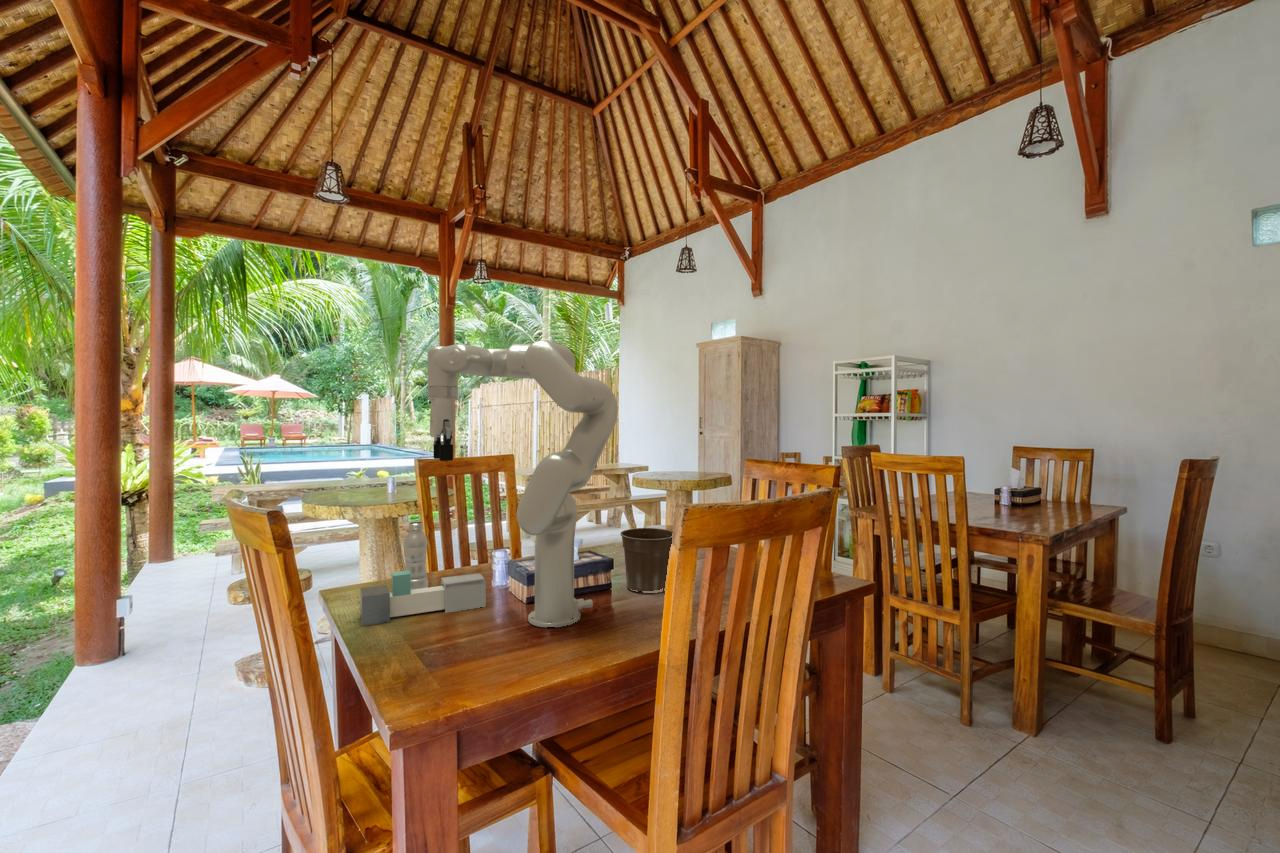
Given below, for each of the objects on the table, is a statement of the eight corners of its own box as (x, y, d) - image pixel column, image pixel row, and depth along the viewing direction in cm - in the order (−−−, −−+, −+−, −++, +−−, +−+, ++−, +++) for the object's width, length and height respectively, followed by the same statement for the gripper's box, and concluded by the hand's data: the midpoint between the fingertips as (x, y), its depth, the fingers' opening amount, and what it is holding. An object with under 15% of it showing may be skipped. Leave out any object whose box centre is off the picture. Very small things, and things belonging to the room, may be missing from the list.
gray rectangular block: (479, 599, 155) (479, 573, 155) (485, 607, 149) (485, 579, 149) (440, 605, 150) (440, 577, 150) (445, 613, 144) (445, 584, 144)
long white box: (449, 603, 150) (449, 565, 150) (452, 608, 146) (452, 569, 146) (367, 615, 141) (367, 575, 141) (368, 620, 137) (368, 578, 137)
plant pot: (687, 591, 163) (687, 534, 163) (639, 600, 155) (639, 540, 154) (656, 577, 177) (656, 525, 177) (610, 585, 168) (610, 531, 168)
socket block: (386, 612, 145) (386, 584, 144) (389, 622, 138) (389, 593, 137) (360, 616, 142) (360, 588, 142) (362, 626, 135) (362, 596, 135)
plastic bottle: (432, 590, 163) (432, 520, 163) (421, 598, 156) (421, 525, 156) (411, 590, 164) (410, 520, 164) (398, 597, 157) (398, 524, 157)
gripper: (423, 395, 156) (423, 458, 156) (433, 392, 140) (433, 462, 140) (451, 396, 159) (451, 457, 159) (464, 393, 144) (464, 461, 144)
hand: (443, 459), depth 150 cm, fingers open, 9 cm apart
